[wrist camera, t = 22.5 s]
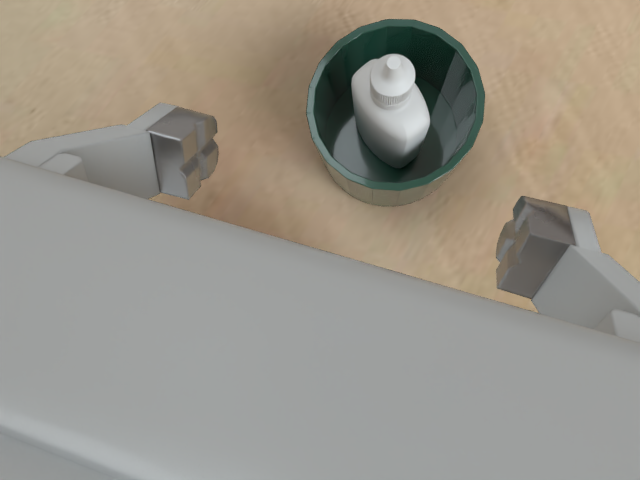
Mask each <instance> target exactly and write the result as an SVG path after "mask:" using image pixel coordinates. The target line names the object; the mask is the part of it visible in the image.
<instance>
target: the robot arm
mask: <svg viewBox="0 0 640 480" xmlns="http://www.w3.org/2000/svg"><path fill="white" fill-rule="evenodd" d="M216 133H217V122H216V120H215V118H214V117H213V116H211V115H207V114H203V113H200V112H196V111H193V110H189V109H185V108H182V107H179V106H175V105H171V104H166V103H159V104H157V105H156V106H154V107H153V108H151V109H150V110H149V111H147V112H146V113H144V114H143V115H141V116H140V117H138V118H137V119H136V120H134V121H133V122H131V123H130V124H128V125H127V126H125V125H116V126H110V127H105V128H100V129H94V130H89V131H84V132H78V133H73V134H68V135H62V136H57V137H52V138H46V139H41V140H35V141H30V142H29V143H27V144H25V145H24V146H22V147H20V148H18V149H17V150H15V151H13V152H12V153H10V154H8V155H7V156H5V157H1V156H0V480H640V282H639V281H638V280H636V279H635V278H634V277H633V276H632V275H631V274H630V273H629V272H627V271H626V270H625V269H624V268H623V267H622V266H621V265H619V264H618V263H617V262H616V261H615V260H614V259H613V258H612V257H610V256H609V255H608V254H604V253H601V249H600V246H599V243H598V240H597V236H596V233H595V230H594V227H593V223H592V220H591V217H590V214H589V212H588V211H586V210H582V209H578V208H573V207H568V206H565V205H560V204H556V203H552V202H547V201H543V200H539V199H534V198H530V197H526V196H521V197H520V199H519V200H518V201H517V203H516V205H515V207H514V208H513V218H514V219H513V220H511V221H509V222H507V223H505V225H504V227H503V229H502V232H501V234H500V237H499V240H498V243H497V248H496V258H497V259H498V261H499V262H500V264H499V266H498V268H497V269H496V276H497V288H498V289H501V290H504V291H507V292H510V293H514V294H517V295H520V296H523V297H526V298H530V299H532V300H531V301H532V303H533V304H534V306H535V307H536V309H537V310H538V312H539V313H540V314H539V313H536V312H533V311H529V310H526V309H522V308H519V307H516V306H512V305H509V304H505V303H502V302H498V301H495V300H491V299H488V298H485V297H481V296H478V295H474V294H471V293H467V292H464V291H461V290H457V289H454V288H450V287H447V286H443V285H440V284H437V283H433V282H430V281H426V280H423V279H419V278H416V277H412V276H409V275H406V274H402V273H399V272H395V271H392V270H388V269H385V268H382V267H378V266H375V265H371V264H368V263H364V262H361V261H358V260H354V259H351V258H347V257H344V256H340V255H337V254H334V253H330V252H327V251H323V250H320V249H316V248H313V247H310V246H306V245H303V244H299V243H296V242H292V241H289V240H285V239H282V238H279V237H275V236H272V235H268V234H265V233H261V232H258V231H255V230H251V229H248V228H244V227H241V226H237V225H234V224H231V223H227V222H224V221H220V220H217V219H213V218H210V217H207V216H203V215H200V214H196V213H193V212H189V211H186V210H183V209H179V208H176V207H172V206H169V205H165V204H162V203H159V202H155V201H152V200H148V199H149V198H151V197H153V196H156V195H158V194H160V192H161V193H165V194H169V195H173V196H177V197H180V198H184V199H188V200H189V199H190V198H191V196H192V195H193V194H194V193H195V192H196V191H197V190H198V189H199V188H200V187H201V183H200V180H203V179H206V178H209V177H210V176H211V174H212V173H213V172H214V170H215V167H216V165H217V162H218V146H217V144H216V143H215V141H214V139H213V137H214V136H215V134H216Z"/></svg>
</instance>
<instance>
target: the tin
mask: <svg viewBox="0 0 640 480" xmlns="http://www.w3.org/2000/svg"><path fill="white" fill-rule="evenodd" d="M388 54H398V55H403V56H405V57H407V59H408V60H410V62H411V63H412V64H413V66H414V68H415V69H414V70H415V75H416V76H415V82H414V83H415V84H416V85H417V87H418V88H419V90H420V92H421V94H422V96H423V98H424V100H425V102H426V105H427V108H428V111H429V116H430V125H429V128H428V131H427V134H426V137H425V139H424V142H423V145H422V147H421V150H420V152H419V154H418V155H417V157H415V158H414V159H413V160H412V161H411V162H409V163H408V164H407V165H406V166H404V167H402V168H394V167H392V166H390V165H388V164H386V163H385V162H383V161H382V160H380V159H379V158H378V157H377V156H376V155H374V154H373V153H372V151H371V150H370V149H369V148H368V147H367V145H366V144H365V142H364V141H363V139H362V137H361V135H360V133H359V130H358V128H357V125H356V120H355V114H354V106H353V97H352V86H351V83H352V77H353V75H354V74H355V73H356V72H357V71H358V70H359V69H360V68H361V67H362V66H363V65H365V64H366V63H367V62H369V61H370V60H373V59H380V58H381V57H383V56H386V55H388ZM484 103H485V91H484V88H483V84H482V80H481V77H480V73H479V69H478V67H477V65H476V64H475V62H474V61H473V59H472V58H471V56H470V55H469V53H468V52H467V51H466V49H465V48H464V46H463V45H462V44H461V43H460V42H458V41H457V40H456V39H454V38H453V37H452V36H450V35H449V34H447V33H446V32H445V31H443V30H442V29H440V28H438V27H435V26H432V25H429V24H426V23H423V22H420V21H417V20H409V19H387V20H386V19H385V20H382V21H379V22H375V23H372V24H368V25H365V26H361V27H359V28H357V29H356V30H354V31H353V32H351V33H350V34H348V35H347V36H345V37H343V38H342V39H340V40H339V41H337V42H336V43H335V45H334V46H333V47H332V48H331V49H330V50H329V52H328V53H327V54H326V55H325V56H324V57H323V59H322V60H321V61H320V63H319V64H318V66H317V69H316V71H315V73H314V76H313V78H312V80H311V83H310V85H309V88H308V99H307V109H306V113H307V114H306V115H307V120H308V124H309V128H310V133H311V137H312V140H313V142H314V144H315V146H316V148H317V151H318V153H319V155H320V157H321V159H322V161H323V163H324V165H325V167H326V168H327V170H328V172H329V173H330V175H331V177H332V178H333V180H334V181H335V183H337V184H338V185H339V186H340V187H341V188H342V189H343V190H344V191H345V192H347V193H348V194H349V195H351V196H352V197H354V198H356V199H358V200H361V201H363V202H365V203H369V204H372V205H378V206H401V205H406V204H410V203H413V202H415V201H418V200H420V199H422V198H424V197H426V196H428V195H429V194H431V193H432V192H433V191H435V190H437V189H438V188H439V187H440V186H441V185H442V184H443V182H444V181H445V180H446V179H447V178H448V177H449V175H450V174H451V173H452V172H453V171H454V170H455V168H456V167H457V166H458V165H459V163H460V162H461V161H462V160H463V158H464V157H465V156H466V155H467V153H468V152H469V151H470V150H471V148H472V147H473V144H474V142H475V140H476V137H477V135H478V133H479V130H480V128H481V125H482V123H483V117H484Z"/></svg>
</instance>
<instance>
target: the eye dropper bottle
mask: <svg viewBox="0 0 640 480" xmlns="http://www.w3.org/2000/svg"><path fill="white" fill-rule="evenodd" d="M414 69H415V68H414V66H413V64H412V63H411V62H410V60H408V59H407V57H405V56H403V55H398V54H388V55H386V56H383V57H381V58H380V59H373V60H370V61H369V62H367V63H366V64H365V65H363V66H362V67H361V68H360V69H359V70H358V71H357V72H356V73H355V74H354V75H353V77H352V83H351V86H352V97H353V106H354V114H355V120H356V125H357V128H358V130H359V133H360V135H361V137H362V139H363V141H364V142H365V144H366V145H367V147H368V148H369V149H370V150H371V151H372V153H373V154H374V155H376V156H377V157H378V158H379V159H380V160H382V161H383V162H385V163H386V164H388V165H390V166H392V167H394V168H402V167H404V166H406V165H407V164H408V163H409V162H411V161H412V160H413V159H414V158H415V157H417V155H418V154H419V152H420V150H421V147H422V145H423V142H424V139H425V137H426V134H427V131H428V128H429V125H430V116H429V111H428V108H427V105H426V102H425V100H424V98H423V96H422V94H421V92H420V90H419V88H418V87H417V85H416V84H415V83H414V82H415V76H416V75H415V70H414Z"/></svg>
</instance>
